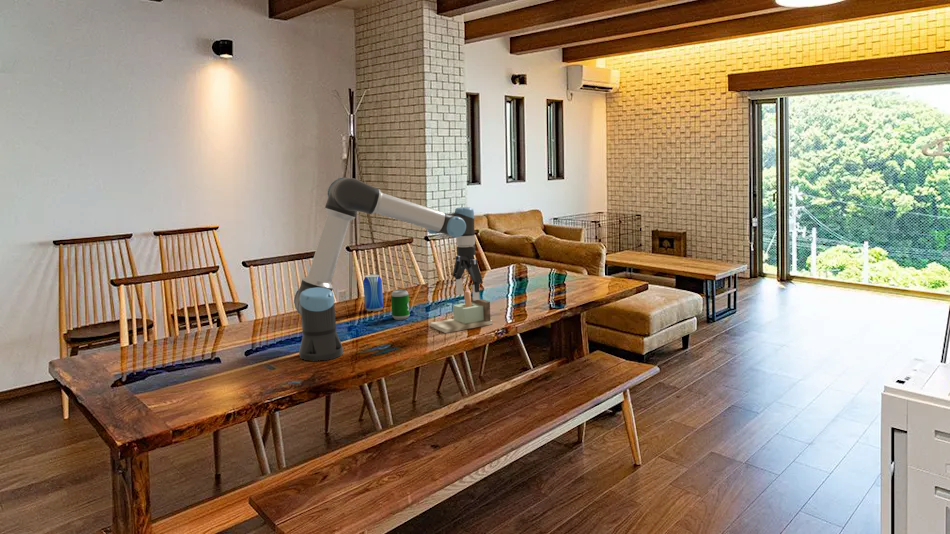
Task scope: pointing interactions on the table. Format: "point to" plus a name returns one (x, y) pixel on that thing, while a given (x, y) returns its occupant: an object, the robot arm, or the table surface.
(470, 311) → the block
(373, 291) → the beer can
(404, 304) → the soda can
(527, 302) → the table surface
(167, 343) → the table surface
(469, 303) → the dowel
